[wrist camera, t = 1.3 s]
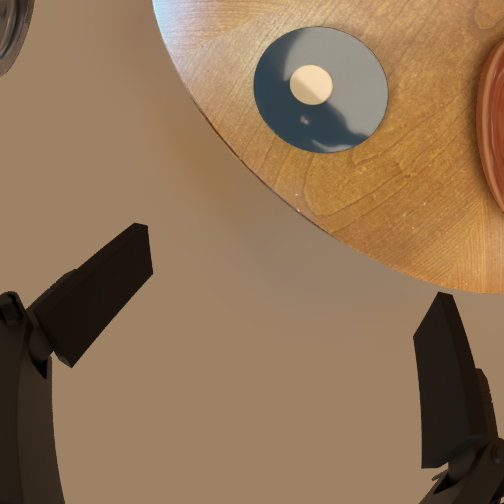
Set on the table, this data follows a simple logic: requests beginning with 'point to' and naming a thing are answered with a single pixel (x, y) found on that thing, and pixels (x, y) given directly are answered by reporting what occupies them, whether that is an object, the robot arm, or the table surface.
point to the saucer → (492, 122)
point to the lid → (320, 89)
